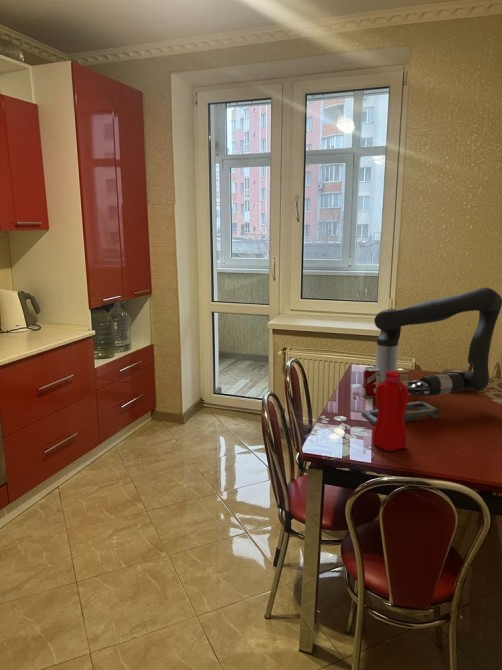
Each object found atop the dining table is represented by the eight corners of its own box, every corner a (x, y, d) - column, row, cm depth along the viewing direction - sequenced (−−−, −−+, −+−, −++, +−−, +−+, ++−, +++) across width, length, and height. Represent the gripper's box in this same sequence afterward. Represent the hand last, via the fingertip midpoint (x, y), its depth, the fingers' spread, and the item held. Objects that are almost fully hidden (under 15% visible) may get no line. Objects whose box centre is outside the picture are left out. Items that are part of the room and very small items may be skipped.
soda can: (361, 397, 199) (362, 370, 197) (364, 392, 205) (365, 365, 203) (378, 399, 197) (379, 371, 194) (380, 394, 203) (381, 367, 200)
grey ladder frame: (374, 425, 172) (374, 417, 171) (361, 414, 181) (362, 407, 181) (438, 417, 177) (439, 410, 177) (423, 408, 187) (423, 400, 186)
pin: (391, 408, 180) (393, 367, 177) (403, 407, 182) (405, 366, 178) (398, 413, 176) (400, 371, 172) (409, 411, 177) (412, 370, 173)
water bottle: (390, 456, 148) (394, 379, 143) (368, 442, 158) (371, 369, 152) (414, 450, 152) (419, 375, 146) (391, 437, 162) (395, 366, 156)
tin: (472, 387, 210) (474, 369, 208) (475, 390, 207) (476, 371, 205) (437, 387, 211) (438, 368, 210) (439, 389, 208) (440, 370, 206)
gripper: (425, 370, 186) (385, 374, 182) (448, 381, 172) (405, 385, 169) (424, 388, 188) (384, 392, 184) (447, 400, 174) (404, 405, 170)
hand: (395, 389), depth 176 cm, fingers closed on pin, 4 cm apart
